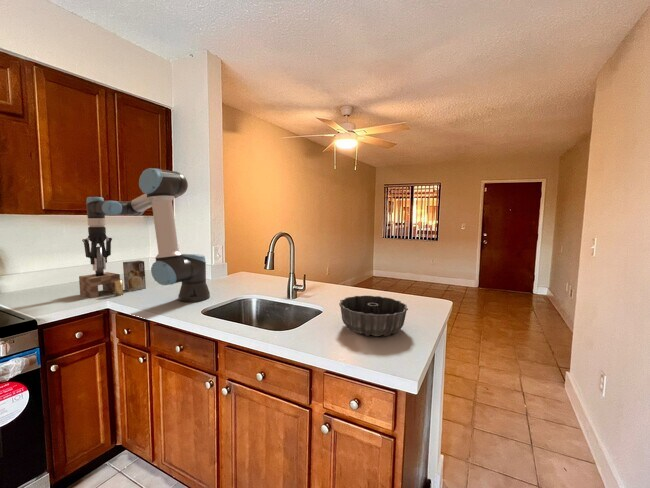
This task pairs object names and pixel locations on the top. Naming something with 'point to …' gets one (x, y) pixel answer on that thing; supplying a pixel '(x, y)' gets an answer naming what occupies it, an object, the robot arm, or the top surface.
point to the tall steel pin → (99, 262)
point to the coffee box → (134, 275)
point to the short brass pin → (118, 287)
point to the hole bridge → (92, 281)
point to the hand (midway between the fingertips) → (99, 269)
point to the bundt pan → (373, 314)
